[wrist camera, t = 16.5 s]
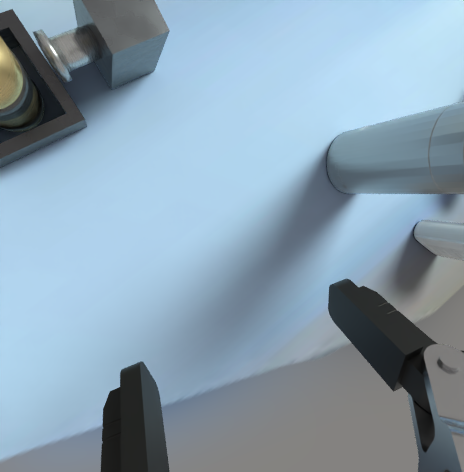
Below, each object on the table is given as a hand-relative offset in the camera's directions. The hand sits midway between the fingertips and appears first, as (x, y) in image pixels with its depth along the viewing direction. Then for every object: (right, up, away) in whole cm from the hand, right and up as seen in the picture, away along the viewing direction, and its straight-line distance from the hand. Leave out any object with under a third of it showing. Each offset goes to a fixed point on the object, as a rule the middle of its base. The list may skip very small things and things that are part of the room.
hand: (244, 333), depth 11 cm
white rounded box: (+37, +4, +42) cm, 56 cm away
